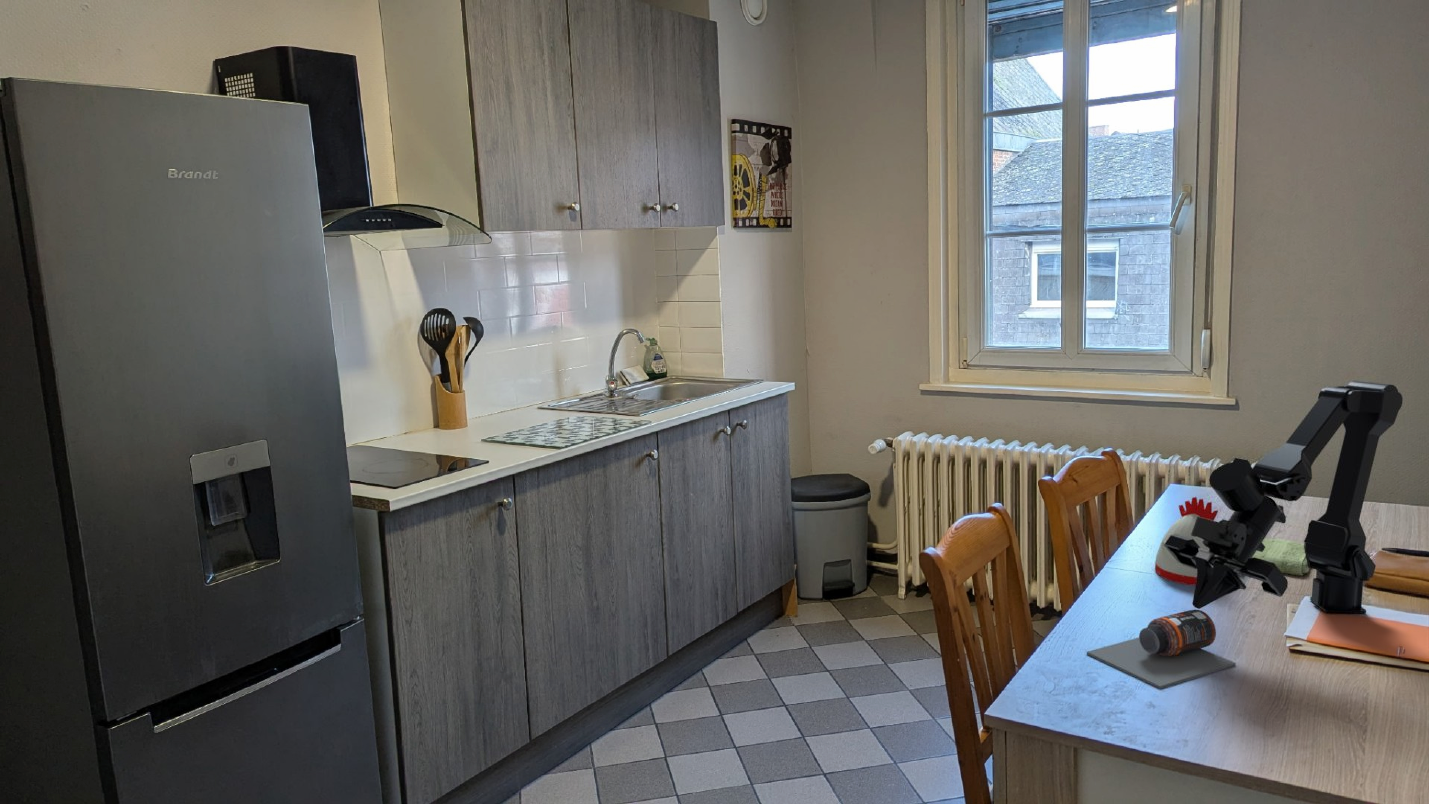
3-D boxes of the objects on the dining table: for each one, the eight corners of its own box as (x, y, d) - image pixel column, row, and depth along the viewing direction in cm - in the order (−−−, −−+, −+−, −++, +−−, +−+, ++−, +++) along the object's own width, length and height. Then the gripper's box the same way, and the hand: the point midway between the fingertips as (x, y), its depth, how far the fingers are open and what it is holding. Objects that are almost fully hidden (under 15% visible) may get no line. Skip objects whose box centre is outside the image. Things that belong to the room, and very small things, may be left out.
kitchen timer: (1198, 591, 183) (1201, 511, 180) (1139, 569, 195) (1141, 495, 193) (1251, 578, 188) (1256, 501, 186) (1191, 558, 201) (1194, 485, 198)
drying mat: (1159, 633, 164) (1159, 631, 164) (1235, 665, 151) (1235, 662, 151) (1086, 654, 157) (1086, 651, 157) (1160, 688, 145) (1160, 686, 145)
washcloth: (1318, 554, 201) (1319, 539, 200) (1306, 580, 187) (1307, 563, 186) (1246, 544, 209) (1246, 530, 208) (1229, 568, 195) (1230, 552, 194)
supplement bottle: (1203, 602, 157) (1150, 614, 153) (1225, 636, 154) (1171, 650, 149) (1179, 618, 162) (1127, 631, 157) (1200, 652, 158) (1147, 666, 154)
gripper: (1174, 486, 164) (1122, 561, 162) (1279, 512, 148) (1224, 597, 145) (1205, 524, 169) (1156, 599, 166) (1311, 554, 152) (1258, 637, 149)
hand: (1195, 606), depth 157 cm, fingers closed
